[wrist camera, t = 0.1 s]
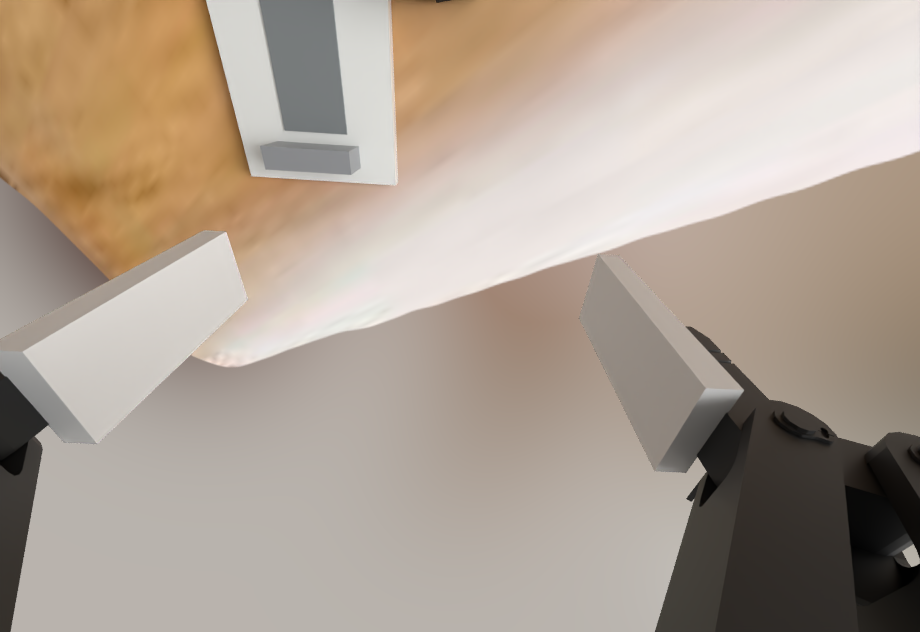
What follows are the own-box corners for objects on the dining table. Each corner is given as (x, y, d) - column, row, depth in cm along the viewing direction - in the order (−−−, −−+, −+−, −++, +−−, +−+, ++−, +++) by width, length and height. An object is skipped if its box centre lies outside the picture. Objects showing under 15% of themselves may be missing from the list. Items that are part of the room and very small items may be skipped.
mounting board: (190, -106, 26) (137, -143, 22) (387, -90, 27) (372, -124, 22) (258, 173, 37) (232, 183, 33) (398, 182, 38) (389, 193, 33)
